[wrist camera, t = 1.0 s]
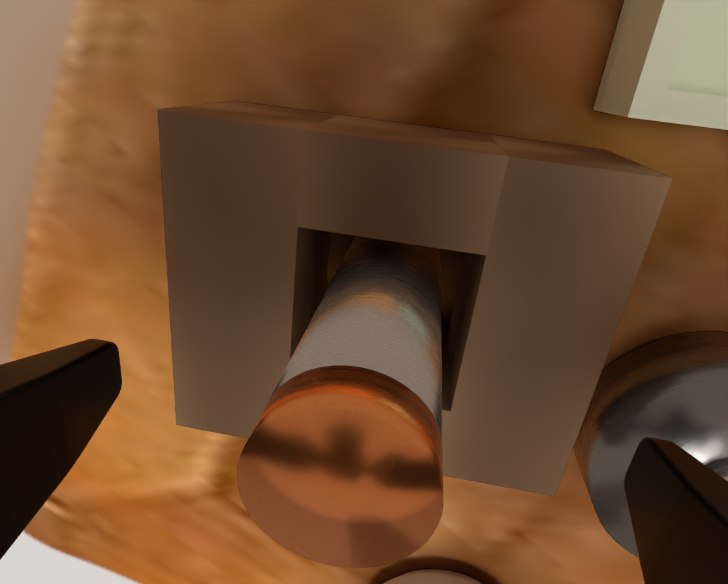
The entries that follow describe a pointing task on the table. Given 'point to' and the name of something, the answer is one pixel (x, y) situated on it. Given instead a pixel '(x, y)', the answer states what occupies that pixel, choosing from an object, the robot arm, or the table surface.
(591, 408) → the dark grey knobbed lid
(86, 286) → the table surface
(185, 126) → the block
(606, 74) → the tray
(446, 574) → the beverage can
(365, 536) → the pin
